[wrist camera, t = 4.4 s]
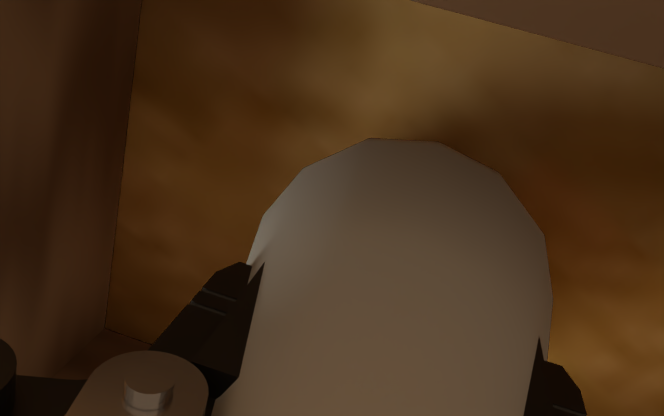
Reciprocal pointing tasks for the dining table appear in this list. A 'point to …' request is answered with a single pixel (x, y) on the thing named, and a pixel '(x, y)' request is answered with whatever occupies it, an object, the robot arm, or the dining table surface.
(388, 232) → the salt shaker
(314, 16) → the dining table surface
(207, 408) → the robot arm
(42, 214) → the walnut box
